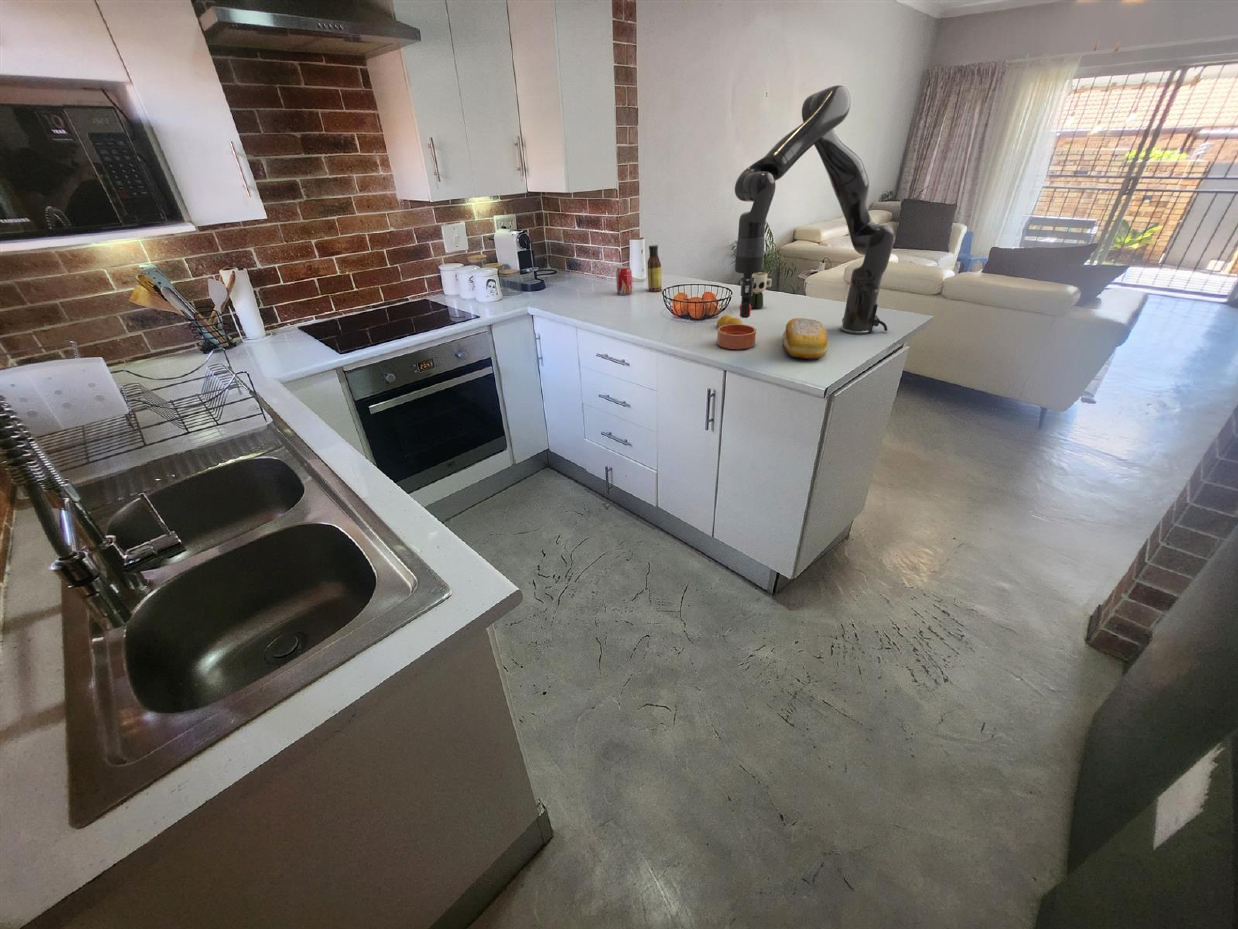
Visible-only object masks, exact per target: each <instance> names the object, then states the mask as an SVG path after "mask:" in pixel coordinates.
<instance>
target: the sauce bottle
mask: <svg viewBox="0 0 1238 929" xmlns="http://www.w3.org/2000/svg"><path fill="white" fill-rule="evenodd" d="M658 249H659V245H658V244H650V245H648V250H649V258H648V259H647V284H648V285H647V286H648V291H649V292H653V293H657V292H660V291H662V286H663V284H662V283H663V282H662V264H661V261H660V258H659V253H658V252H659V251H658Z"/></svg>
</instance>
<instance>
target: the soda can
mask: <svg viewBox="0 0 1238 929" xmlns="http://www.w3.org/2000/svg"><path fill="white" fill-rule="evenodd" d="M615 272H616V273H615V275H616V276H615V278H616V292H617V294H618V295H619V296H628V295H631V294H632V293H633V274H632V269H631V266H630V265H617V269H616V271H615Z"/></svg>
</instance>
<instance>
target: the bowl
mask: <svg viewBox="0 0 1238 929" xmlns="http://www.w3.org/2000/svg"><path fill="white" fill-rule="evenodd" d="M716 334H717V335H716V336H717V337H716V344H717V345H718V346H719V347H721V348H723V349H724V348H725V349H727V350H745V349H749V348H752V347H754V346H755V344H756V335H757V328H756V327H754V326H752V325H748V324H743V323H742V324H730V325H724V326H721V327H718V328H717V333H716Z"/></svg>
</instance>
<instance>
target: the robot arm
mask: <svg viewBox="0 0 1238 929" xmlns="http://www.w3.org/2000/svg"><path fill="white" fill-rule="evenodd" d="M851 101H852V100H851V95H850V92H849V90H848V89H847V88H846V87H845V86H843V85H832V86H830V87H827V88H824V89H822V90H819V91H817V92H815V93H812V94H810V95H809V96H807V97H806V98H805V100H804V101H803V104H802V106H801V118H802V119H801V120H802V123H801V124H800V125H798V126H796V128H794V129H793V130H791V131H790V132H789V133H787V134H786V135H784V136H783V137H782V138H781V139H780V140H779V141H777V143H775V145H774V146H772V148H771V149H770V150H769V151H768V152H766V154H765V156H763V157H762V158H760V159H759V160H757V161H755V162H753V163H752V164H751V165H749V166H748V167H746V168H745V169H744V170H743V171H742V172H741V173H740V174H739V176H738V177H737V179H736V181H735V183H734V194H735V197H736V198H737V199H738V200H740V201H742V202H748V203H749V202H752V204H751V205H752V206H751V208H750V210H749V211H745V212H743V213H741V214H740V215H739V219H738V230H737V241H736V248H735V261H734V264H735V265H734V271H735V273H738V274H743V277H740V281H739V282H740V283H739V285H740V297H741V300H740V305H741V304H742V310H741V317H740V318H741V319H748V318H750V317H749V307H750V304H751V296H752V295H753V286H754V283H755V277H752V274H753V273H759V272H761V273H762V271H763V263H764V256H765V254H764V252H765V234H766V233H765V232H766V221H767V216H768V214H769V211H770V208H771V205H772V203H773V199H774V197H775V193H776V192H775V191H776V186H777V184H776V181H778V180H781V179H782V177H784V176H785V174H786V173H788V171H789V170H790V169H791V168H792V167H793V166H794V165H795V164H796V163H797V162H798V161H799V159H801V158H802V157H803V156H804V155H805V153H807V151H809V150H810V149H811V148H812V147H813V146H814V147H815V149H816V151H817V153H818V155H819V157H820V160H821V162H822V164H823V167H824V168H825V172H826V173H827V176H828V179H829V182H830V185H831V187H832V191H833V192H834V195H835V197H836V199H837V202H838V204H839V206H840V209H841V212H842V214H843V217H844V219H845V223H846V226H847V229H848V233H849V234H848V235H849V238H850V241H851V245H852V247H853V249H854V251H855V252H856V253H858V254H859V255H862V256H864V258H863V262H862V264H861V265H860V266H856V267H854V268H853V270H852V272H851V277H850V282H849V286H848V292H847V298H846V304H845V309H844V314H843V317H842V320H841V322H842V324H841V328H840V329H841V331H843V332H845V333H848V334H857V335H861V334H862V335H863V334H871V333H873V329H874V327H879V325H881V326H882V327H883V330H884V332H888V326H887V324H886V323H885V321H883V320H880V317H879V316H878V315H876V314H877V311H878V306H879V304H878V297H879V293H880V288H881V283H882V280H883V276H884V273H885V272H886V271H887V268H888V266H889V262H890V258H891V255H892V252H893V247H894V242H895V232H894V229H893V228H892V227H891V226H888V225H885V224H879V223H875V222H874V221H873V219H872V217H871V215H870V212H869V209H868V198H869V191H870V180H869V177H868V174H867V171H866V168H865V165H864V162H863V160H862V159H861V158H860V157H859V156H858V154H856V152H854V151H853V150H852V149H851V148H850V147H848V146H847V145H846V144H845V143H843V141H841V140H840V139H839V137H838V135H837V134H836V132H835V128H837V127H838V126H840V124H842V123H843V122H844V121H845V120H846V118H847V117H848V115H849V113H850V109H851ZM751 284H752V285H751Z"/></svg>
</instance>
